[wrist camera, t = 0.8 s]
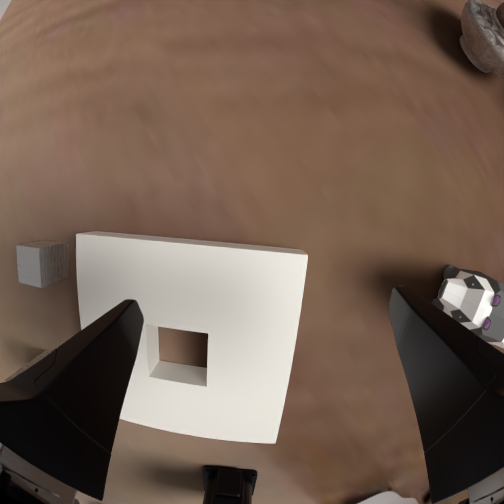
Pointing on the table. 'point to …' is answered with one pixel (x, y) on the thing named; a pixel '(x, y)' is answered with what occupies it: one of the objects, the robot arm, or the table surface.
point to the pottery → (483, 36)
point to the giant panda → (474, 302)
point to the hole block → (201, 327)
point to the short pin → (42, 262)
